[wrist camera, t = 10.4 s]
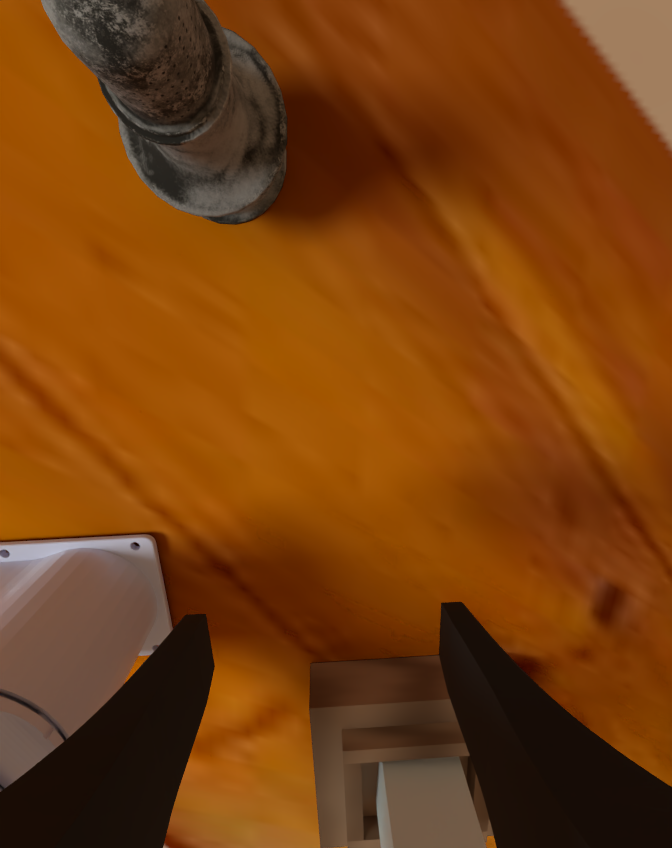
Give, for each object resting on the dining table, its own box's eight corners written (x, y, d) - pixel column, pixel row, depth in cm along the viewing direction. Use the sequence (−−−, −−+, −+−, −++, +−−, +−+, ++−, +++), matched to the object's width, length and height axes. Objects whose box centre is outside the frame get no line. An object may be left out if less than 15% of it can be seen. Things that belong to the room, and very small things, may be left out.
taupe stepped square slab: (320, 794, 30) (320, 873, 26) (310, 663, 26) (308, 730, 22) (486, 783, 30) (512, 858, 26) (498, 651, 26) (530, 714, 22)
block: (375, 799, 26) (391, 944, 20) (380, 746, 24) (398, 885, 18) (447, 798, 26) (483, 941, 20) (455, 745, 24) (497, 882, 19)
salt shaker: (302, 93, 17) (267, -316, 6) (284, 243, 19) (228, 156, 7) (159, 61, 17) (-190, -454, 5) (153, 218, 18) (-123, 85, 7)
